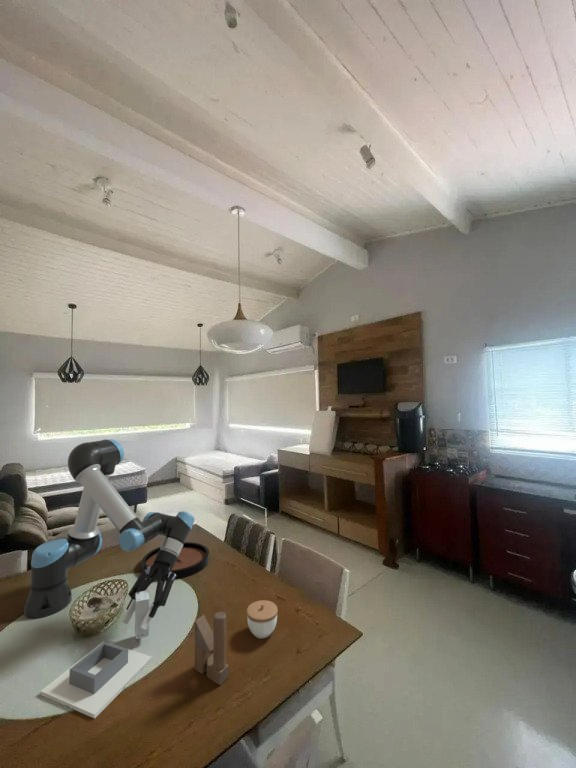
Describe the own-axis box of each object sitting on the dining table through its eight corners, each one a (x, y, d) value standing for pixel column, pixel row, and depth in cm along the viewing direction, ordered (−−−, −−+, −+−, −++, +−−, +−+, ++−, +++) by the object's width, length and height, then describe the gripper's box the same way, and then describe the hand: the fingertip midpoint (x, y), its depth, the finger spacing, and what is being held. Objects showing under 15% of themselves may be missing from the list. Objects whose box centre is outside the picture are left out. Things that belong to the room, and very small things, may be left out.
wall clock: (217, 543, 178) (194, 574, 147) (217, 551, 177) (194, 583, 146) (162, 540, 181) (128, 569, 150) (162, 548, 181) (127, 579, 150)
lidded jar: (273, 645, 109) (273, 616, 109) (242, 641, 111) (242, 612, 111) (280, 624, 119) (280, 597, 120) (252, 620, 121) (252, 593, 122)
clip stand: (40, 694, 91) (41, 675, 91) (103, 644, 110) (103, 628, 110) (94, 718, 84) (95, 698, 84) (151, 660, 103) (152, 643, 103)
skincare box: (149, 636, 110) (150, 598, 111) (134, 640, 108) (135, 602, 109) (148, 624, 116) (149, 589, 116) (134, 628, 114) (135, 592, 114)
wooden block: (203, 661, 102) (203, 601, 103) (228, 677, 96) (229, 613, 97) (193, 669, 99) (194, 607, 100) (219, 686, 93) (220, 620, 94)
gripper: (195, 562, 124) (163, 636, 108) (152, 553, 130) (116, 621, 115) (186, 554, 119) (152, 630, 103) (142, 544, 126) (104, 615, 110)
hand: (133, 625), depth 109 cm, fingers closed on skincare box, 7 cm apart
